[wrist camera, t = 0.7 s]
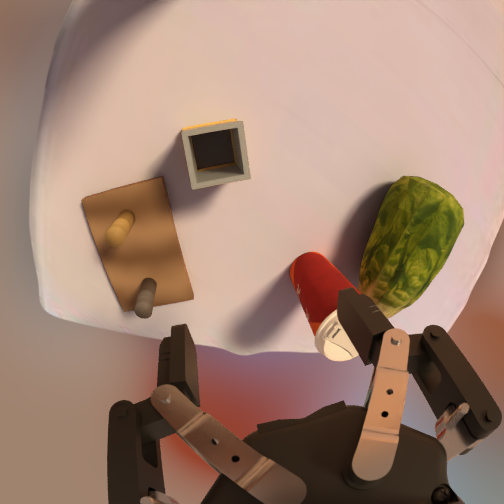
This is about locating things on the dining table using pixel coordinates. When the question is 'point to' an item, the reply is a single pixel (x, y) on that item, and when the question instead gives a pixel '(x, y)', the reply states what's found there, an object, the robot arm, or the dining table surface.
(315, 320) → the paper cup
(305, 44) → the dining table surface
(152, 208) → the pin board
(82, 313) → the dining table surface
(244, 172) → the sleeve
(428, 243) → the lettuce
